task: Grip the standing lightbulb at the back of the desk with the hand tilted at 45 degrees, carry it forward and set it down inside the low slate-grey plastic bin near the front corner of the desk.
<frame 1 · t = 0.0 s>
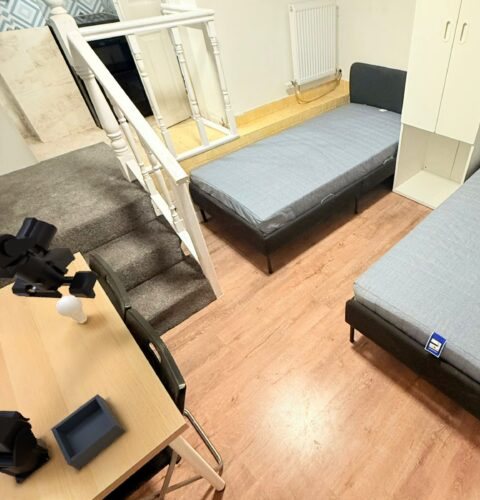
hand: (78, 296, 89), 15 cm above the table, tool pointing down, fingers open, 9 cm apart
bin: (93, 433, 79), on the table
lightbulb: (84, 321, 102), on the table
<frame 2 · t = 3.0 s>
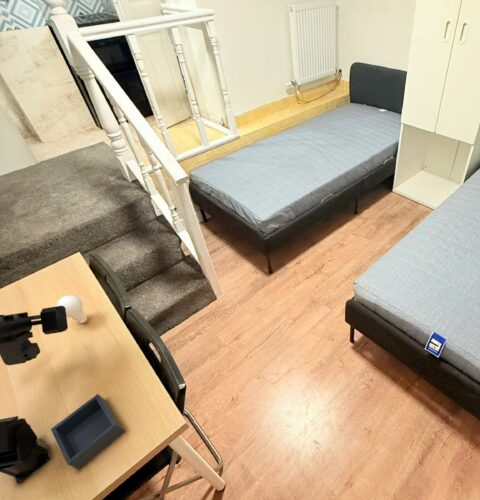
hand: (47, 318, 87), 13 cm above the table, tool tilted 45°, fingers open, 9 cm apart
nothing on the table moved.
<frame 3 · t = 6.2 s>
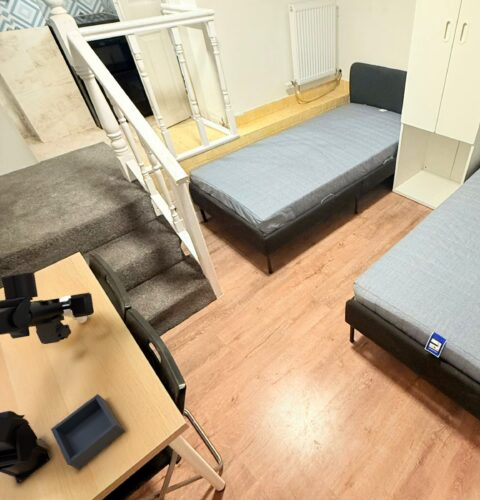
hand: (73, 304, 99), 7 cm above the table, tool tilted 45°, fingers closed on lightbulb, 6 cm apart
lightbulb: (84, 321, 102), on the table, touching gripper
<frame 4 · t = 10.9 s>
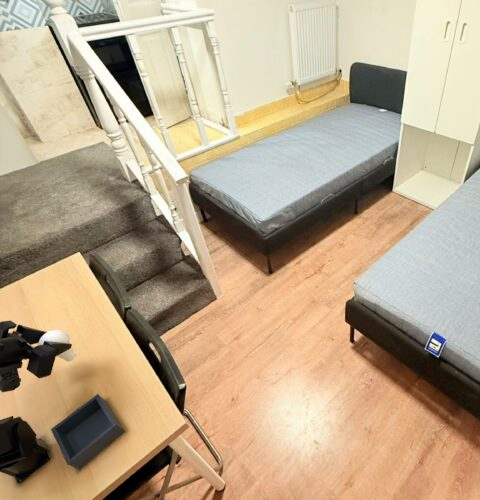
hand: (63, 340, 83), 12 cm above the table, tool tilted 45°, fingers closed on lightbulb, 6 cm apart
lightbulb: (72, 358, 87), point 6 cm above the table, touching gripper
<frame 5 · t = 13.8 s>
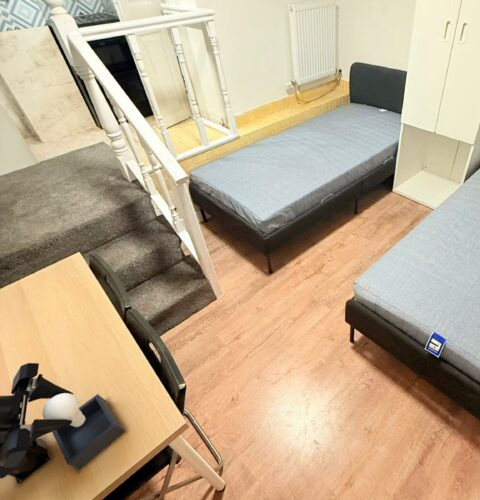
hand: (71, 408, 72), 12 cm above the table, tool tilted 45°, fingers closed on lightbulb, 6 cm apart
lightbulb: (81, 422, 76), point 6 cm above the table, touching gripper
when the fingers open (7 cm above the table, at t = 16.1 s): lightbulb stays where it is, resting on bin.
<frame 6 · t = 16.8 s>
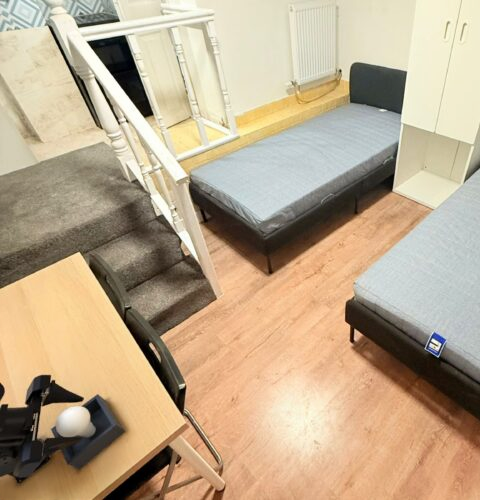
hand: (82, 418, 74), 8 cm above the table, tool tilted 45°, fingers open, 9 cm apart
lightbulb: (92, 433, 79), resting on bin
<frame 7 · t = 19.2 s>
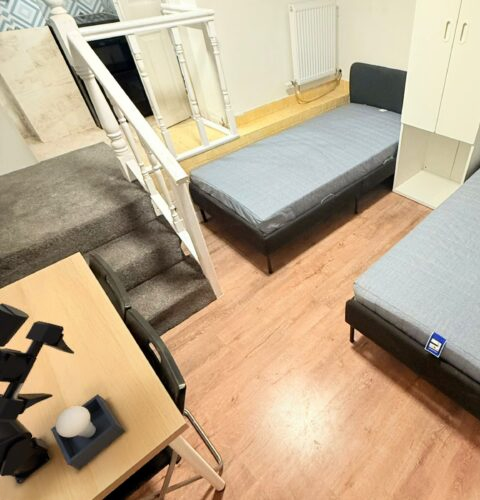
hand: (62, 373, 75), 14 cm above the table, tool tilted 20°, fingers open, 9 cm apart
nothing on the table moved.
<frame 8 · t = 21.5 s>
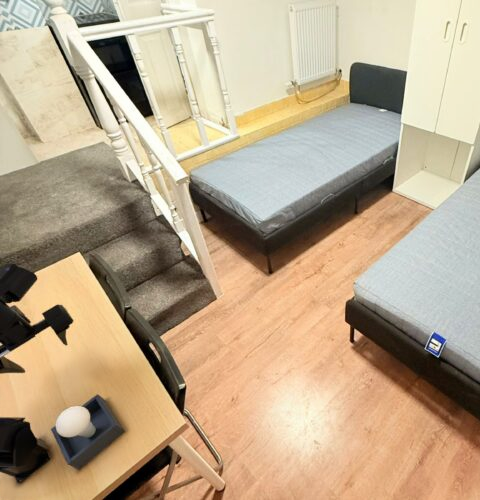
hand: (45, 357, 80), 13 cm above the table, tool pointing down, fingers open, 9 cm apart
nothing on the table moved.
at the end: lightbulb inside the target area in the bin (0.2 cm from its centre), point 0.4 cm above the bin's base; the gripper is holding nothing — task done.
